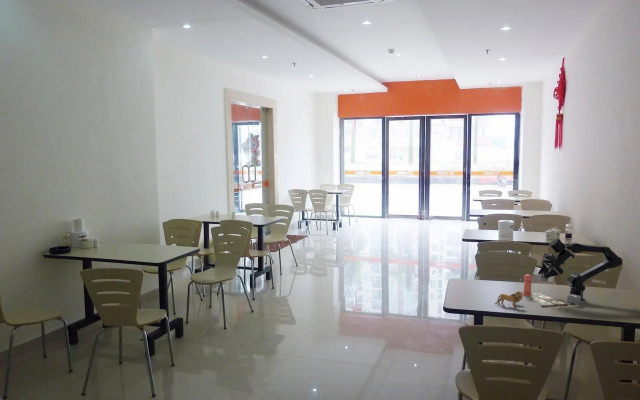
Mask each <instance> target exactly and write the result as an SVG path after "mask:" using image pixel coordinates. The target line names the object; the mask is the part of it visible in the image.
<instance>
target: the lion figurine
mask: <svg viewBox="0 0 640 400" xmlns="http://www.w3.org/2000/svg"><path fill="white" fill-rule="evenodd" d="M523 297H524V296H523V291H519V290H518V291H516V292H514V293H512V294H505V293H500V294H499V296H498V298H497V301H496V302H495V303H494V304H495V305H501V306H502V307H506V305H505V304H504V302H505V301H506V302H508V303H512V306H513V308H515V309H517V306H516V305H517V303H520V302H521V301H522V299H523Z"/></svg>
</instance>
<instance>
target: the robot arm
mask: <svg viewBox="0 0 640 400" xmlns="http://www.w3.org/2000/svg"><path fill="white" fill-rule="evenodd" d="M548 246H549V247H550V249H551V250H552V251H553V252H555V253H556V255H554V254H552V253H550V254H549V253H546V252H544V253H543V255H542V258H543V259H541V260H540V262H541V267H540V268H539V271H538V272H537V275H539V276H541V275H542V274H545V273H546V272H547V273H546V274H545V275H544V279H548V278H549V279H550V278H552V277H555V276H559V275H563V274H564V269H562V267H561V266H562V265H565V264H566V263H565V262H567V261H568V260H569V259H570V258H571V259H575V254H580V253H584V252H585V253H586V252H587V253H589V252H590V253H601V254H603V256H604V257H605V258H604V259H603V260H602V262H600V263H598V264H596V265H595V266H592V267H591V268H589V269H586V270H585V271H583V272H581V273H578V272H576V271H575V272H573V273H572V274H569V276H568V277H567V278H566V282H567V284H568V285H569V287H570V291H569V295H571V294H574V295H578V296H581V301H585V300H586V298H584V291H585V290H586V286H585V285H584V284H585V283H586V282H587V281H588V280H589V279H591V278H593V277H595V276H598V275H599V274H601V273H603V272H605V271H607V270H608V269H616V268H618V267H620V266H622V265H623V259H622V257H620V256H619V255H617V254H616V253H615V252H614V251H613V250H612V249H611V247H609V246H606V245H591V244H582V243H579V242H574V241H569V242H567V243H563V242H562V241H561V239H559V238H557V239H554V240H552V241H550V243H549V244H548Z"/></svg>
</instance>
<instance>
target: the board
mask: <svg viewBox="0 0 640 400" xmlns="http://www.w3.org/2000/svg"><path fill="white" fill-rule="evenodd" d="M523 297H525V298H528V299H531V300H533V301H535V302H537V303H539V304H542V305H540V307H541V308H547V309H548V308H559V307H562V306H563V307H569V303H565V302H562V301H560V300H557V299H554V298H552V297H549V296H548V295H546V294H545V295H544V294H542V293H540V292H539V293H538V292H537V293H535V292H534V293H533V295H532V296H524V295H523ZM541 298H542V299H541ZM553 303H554V304H553Z"/></svg>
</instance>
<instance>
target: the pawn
mask: <svg viewBox="0 0 640 400" xmlns="http://www.w3.org/2000/svg"><path fill="white" fill-rule="evenodd" d="M523 279H524V281H523V282H524V283H523V291H522V293H523V295H524V296H523V297H525V296H531V297H532V296H533V293H532V283H533V282H532V280H533V277H532V275H531V274H525V275H524V277H523Z"/></svg>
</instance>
